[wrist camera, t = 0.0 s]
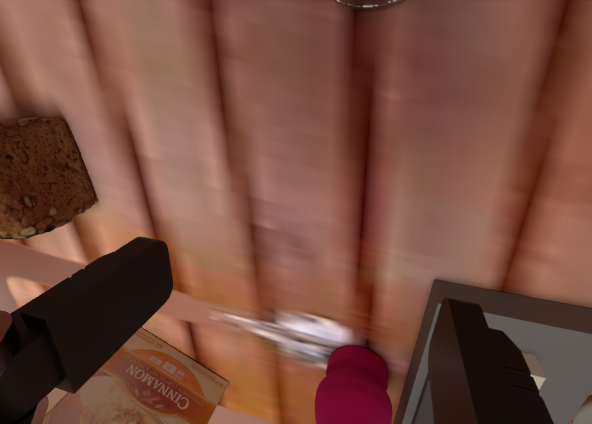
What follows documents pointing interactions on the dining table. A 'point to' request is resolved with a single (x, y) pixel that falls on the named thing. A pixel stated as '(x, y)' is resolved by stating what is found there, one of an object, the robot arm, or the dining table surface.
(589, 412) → the grey-capped dumbbell
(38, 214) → the bread
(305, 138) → the dining table surface
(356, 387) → the pepper mill
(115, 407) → the coffeecake box
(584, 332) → the breaker panel
